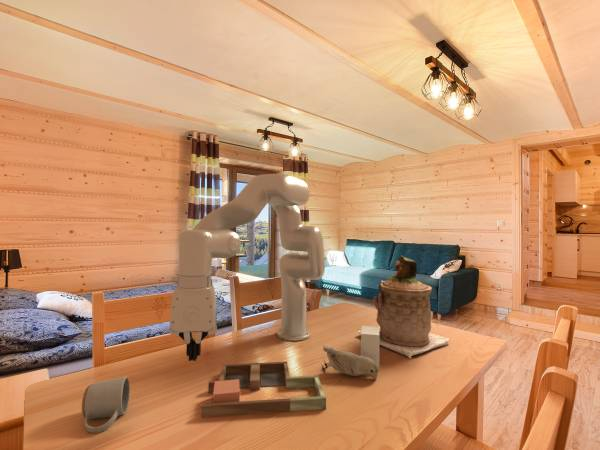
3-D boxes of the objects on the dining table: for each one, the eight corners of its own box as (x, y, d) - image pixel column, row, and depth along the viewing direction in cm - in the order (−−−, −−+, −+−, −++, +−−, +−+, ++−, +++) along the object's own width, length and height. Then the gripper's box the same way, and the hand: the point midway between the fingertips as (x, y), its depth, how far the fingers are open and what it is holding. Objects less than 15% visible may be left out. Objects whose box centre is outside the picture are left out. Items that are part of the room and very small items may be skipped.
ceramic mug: (91, 407, 73) (91, 375, 73) (130, 401, 76) (130, 370, 75) (74, 439, 63) (73, 401, 63) (119, 431, 66) (119, 395, 65)
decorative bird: (376, 385, 85) (377, 357, 85) (319, 375, 90) (319, 349, 90) (378, 375, 90) (378, 349, 90) (324, 366, 95) (324, 342, 95)
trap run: (214, 373, 90) (214, 365, 90) (311, 368, 94) (311, 360, 94) (201, 417, 70) (201, 406, 70) (326, 408, 74) (326, 398, 74)
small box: (379, 370, 93) (379, 335, 93) (360, 368, 94) (360, 333, 94) (378, 358, 101) (378, 326, 101) (360, 357, 102) (361, 324, 102)
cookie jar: (452, 344, 114) (454, 256, 113) (410, 360, 100) (411, 260, 99) (396, 324, 134) (398, 250, 133) (355, 336, 120) (356, 253, 120)
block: (214, 397, 78) (214, 381, 78) (238, 394, 80) (239, 379, 80) (213, 411, 73) (213, 394, 72) (239, 408, 74) (239, 391, 74)
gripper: (156, 284, 70) (155, 366, 70) (225, 284, 72) (223, 364, 72) (166, 278, 77) (165, 353, 77) (228, 278, 79) (227, 351, 79)
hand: (193, 358), depth 75 cm, fingers closed
